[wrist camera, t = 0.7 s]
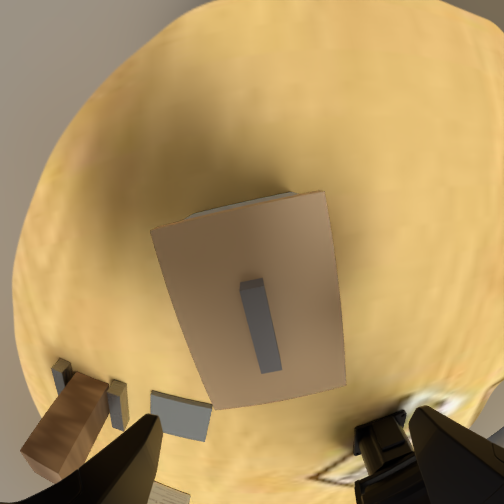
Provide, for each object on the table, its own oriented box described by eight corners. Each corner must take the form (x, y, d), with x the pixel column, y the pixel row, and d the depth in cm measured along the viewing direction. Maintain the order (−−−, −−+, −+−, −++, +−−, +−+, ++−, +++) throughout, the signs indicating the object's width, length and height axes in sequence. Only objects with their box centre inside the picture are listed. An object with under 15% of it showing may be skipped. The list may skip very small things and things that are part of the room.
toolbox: (317, 321, 22) (351, 396, 13) (224, 339, 22) (213, 422, 13) (294, 186, 19) (331, 192, 10) (188, 210, 19) (141, 235, 11)
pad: (212, 404, 24) (211, 408, 23) (205, 438, 25) (204, 441, 25) (152, 390, 23) (150, 394, 23) (152, 425, 25) (151, 429, 24)
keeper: (126, 383, 23) (119, 396, 21) (129, 419, 25) (124, 431, 23) (60, 358, 23) (51, 368, 21) (68, 395, 24) (61, 405, 22)
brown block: (108, 384, 24) (58, 473, 11) (111, 408, 24) (70, 492, 12) (76, 371, 23) (19, 450, 11) (81, 396, 24) (34, 472, 12)
